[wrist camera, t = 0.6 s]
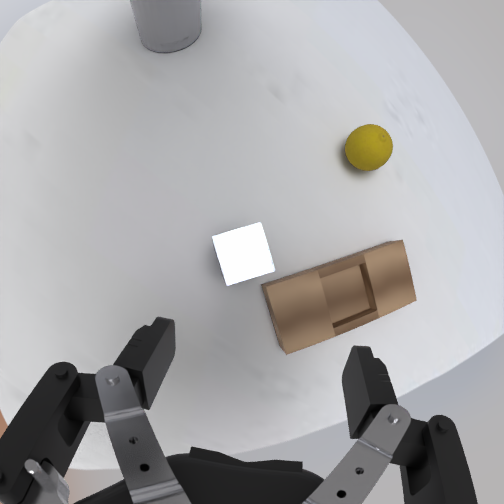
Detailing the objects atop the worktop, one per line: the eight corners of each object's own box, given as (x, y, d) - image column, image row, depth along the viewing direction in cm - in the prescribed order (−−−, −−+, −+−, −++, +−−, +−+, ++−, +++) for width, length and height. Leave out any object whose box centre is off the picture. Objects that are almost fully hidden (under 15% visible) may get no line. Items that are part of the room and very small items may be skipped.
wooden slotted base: (261, 284, 36) (265, 286, 33) (388, 241, 39) (402, 239, 35) (280, 346, 36) (286, 354, 33) (402, 297, 38) (416, 300, 35)
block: (213, 245, 36) (211, 236, 24) (246, 235, 36) (260, 222, 24) (223, 278, 36) (226, 285, 24) (256, 268, 36) (275, 270, 24)
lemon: (378, 153, 39) (408, 133, 31) (364, 185, 38) (395, 168, 30) (345, 131, 38) (371, 106, 30) (329, 162, 38) (355, 140, 30)
